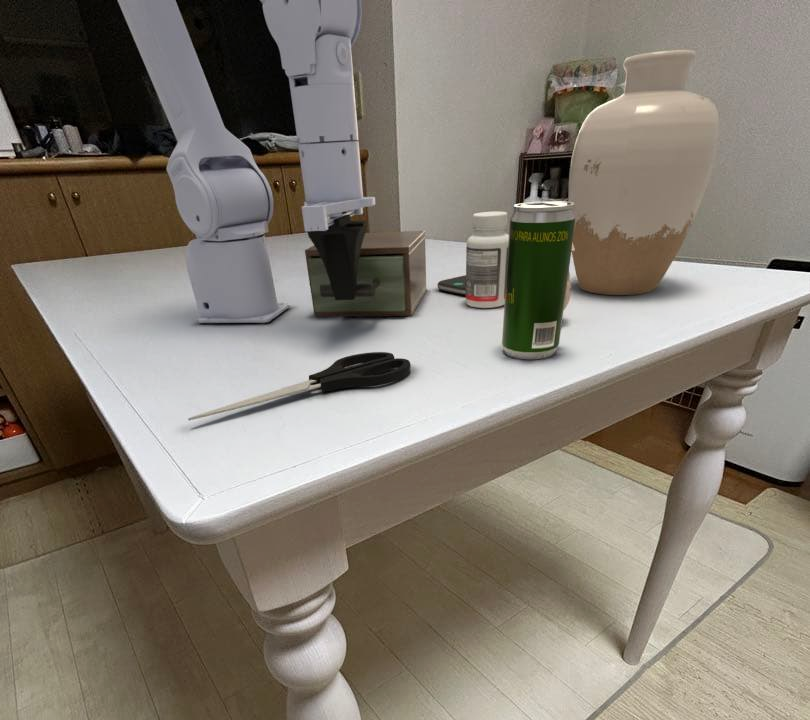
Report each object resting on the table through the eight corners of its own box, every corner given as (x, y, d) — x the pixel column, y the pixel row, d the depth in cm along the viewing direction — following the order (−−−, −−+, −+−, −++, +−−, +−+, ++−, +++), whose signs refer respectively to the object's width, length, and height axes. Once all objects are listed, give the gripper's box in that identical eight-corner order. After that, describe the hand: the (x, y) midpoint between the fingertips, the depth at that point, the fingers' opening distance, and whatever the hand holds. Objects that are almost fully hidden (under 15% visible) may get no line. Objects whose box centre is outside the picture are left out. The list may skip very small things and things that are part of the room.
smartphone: (432, 282, 72) (507, 265, 79) (432, 288, 73) (507, 272, 80) (469, 289, 67) (546, 271, 74) (469, 296, 68) (545, 278, 75)
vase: (690, 279, 70) (751, 51, 56) (668, 306, 60) (736, 35, 46) (576, 272, 77) (605, 68, 63) (538, 295, 67) (563, 58, 53)
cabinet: (411, 316, 62) (408, 246, 58) (314, 316, 64) (304, 249, 60) (426, 290, 73) (425, 230, 68) (342, 292, 75) (335, 233, 70)
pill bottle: (485, 296, 68) (489, 210, 62) (516, 302, 65) (523, 211, 59) (456, 304, 66) (457, 214, 60) (487, 311, 62) (491, 216, 56)
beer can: (569, 353, 49) (592, 203, 41) (523, 364, 47) (537, 209, 40) (534, 339, 52) (549, 199, 45) (490, 349, 51) (498, 205, 43)
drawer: (397, 322, 57) (394, 265, 54) (302, 322, 59) (293, 267, 56) (419, 287, 71) (418, 240, 67) (341, 289, 72) (336, 243, 69)
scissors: (207, 441, 37) (422, 372, 46) (204, 430, 36) (422, 363, 46) (177, 414, 41) (379, 356, 50) (174, 403, 41) (378, 347, 50)
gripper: (349, 140, 42) (365, 316, 50) (385, 140, 53) (393, 284, 61) (268, 145, 43) (297, 316, 51) (320, 145, 54) (337, 285, 62)
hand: (345, 299), depth 56 cm, fingers closed, pressing on drawer
